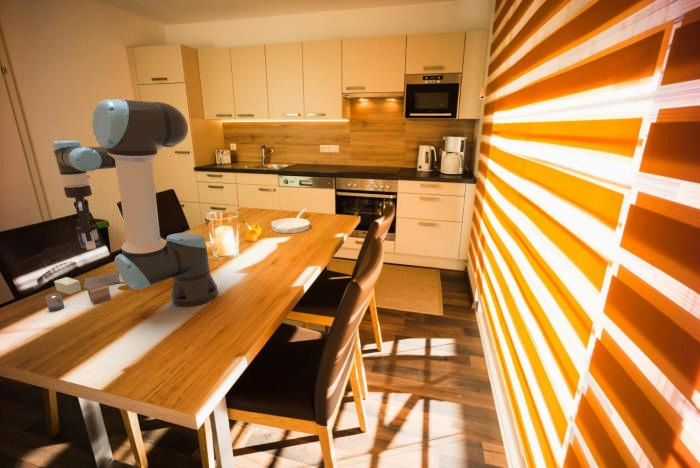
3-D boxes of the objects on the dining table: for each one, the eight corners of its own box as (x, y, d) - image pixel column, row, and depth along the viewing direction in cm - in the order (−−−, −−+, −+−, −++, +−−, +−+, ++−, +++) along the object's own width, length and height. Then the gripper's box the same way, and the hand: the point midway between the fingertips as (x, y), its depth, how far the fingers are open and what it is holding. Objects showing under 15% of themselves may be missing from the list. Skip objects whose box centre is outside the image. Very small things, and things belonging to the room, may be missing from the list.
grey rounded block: (63, 309, 111) (59, 296, 110) (48, 313, 109) (43, 299, 108) (65, 304, 114) (61, 291, 113) (50, 308, 112) (45, 294, 111)
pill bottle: (82, 246, 128) (76, 218, 124) (102, 243, 130) (96, 216, 127) (79, 250, 122) (72, 221, 119) (100, 248, 125) (93, 219, 122)
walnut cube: (111, 299, 118) (108, 287, 116) (94, 305, 114) (90, 292, 112) (107, 295, 121) (104, 283, 119) (90, 300, 117) (86, 287, 116)
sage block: (81, 290, 125) (79, 280, 124) (69, 295, 121) (66, 285, 120) (69, 286, 128) (66, 277, 127) (56, 291, 124) (53, 281, 123)
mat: (119, 283, 130) (118, 281, 130) (83, 290, 124) (83, 289, 124) (118, 273, 139) (118, 272, 139) (85, 280, 133) (85, 278, 133)
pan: (262, 233, 192) (261, 224, 190) (289, 215, 232) (289, 207, 230) (303, 236, 188) (302, 226, 186) (323, 217, 228) (323, 209, 226)
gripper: (88, 188, 114) (104, 251, 121) (90, 181, 129) (103, 238, 136) (60, 190, 110) (77, 255, 117) (65, 183, 125) (80, 241, 132)
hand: (91, 246), depth 126 cm, fingers closed on pill bottle, 6 cm apart
